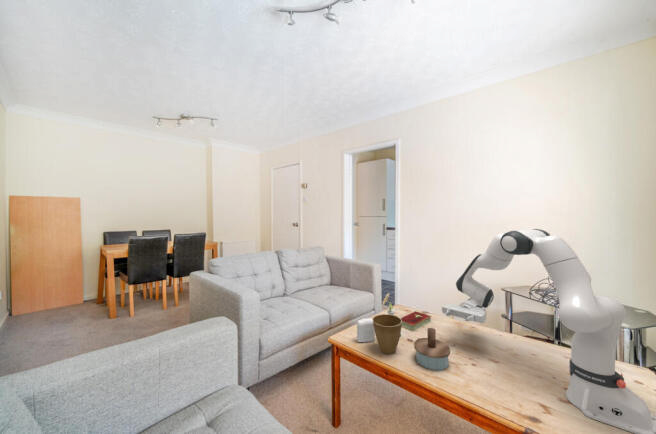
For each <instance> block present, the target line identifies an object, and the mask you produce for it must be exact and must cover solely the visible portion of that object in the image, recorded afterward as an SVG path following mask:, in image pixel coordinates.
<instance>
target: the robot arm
mask: <svg viewBox="0 0 656 434" xmlns="http://www.w3.org/2000/svg"><path fill="white" fill-rule="evenodd" d="M515 255H516V256H522V255H524V256H525V255H526V256H527V255H536V257H538V259H539V260H540V261H541V264H542V265H543V268H544V269H545V270H546V272H547V274H548V276H549V278H550V279H551V281H552V283H553V285H554V288H555V291H556V294H557V299H558V302H559V303H558V304H559V307H558V311H557V315H558V319H559V321H560V322H561V324H563V326H565V327H566V329H567V328H568V329H569V330H571V331H573V332H574V334H573V336H572V337H571V341H570V354H571V356H570V360H569V365H568V366H569V367H568V371H569V374H570V377H569V383H568V387H567V389H566V392H565V397H566V399H567V400H568V401H569V402H570V403H571V404H572V405H574V406H575V407H576V408H577V409H580V411H581V412H582V414H584V415H585V416H586V417H588V418H590V419H593V420H594V421H595V420H596V421H598V422H601V423H604V424H607V425H610V426H613V427H616V428H618V429H621V430H623V431H627V432H629V433H633V434H656V416H654V415H653V413H651V412H650V409H649V407H648V405H647V403H646V402H645V401H644V400H643V398H641V397H640V396H639V395H638V394H637V393H635V392H634V391H632V390H631V389H630V388H629V387H627V383H626V382H625V377H624V375H623V373H622V372H620V373H619V372H617V371H616V350H617V345H618V341H619V338H620V334H621V330H622V325H623V322H624V320H625V318H626V316H627V311H626V308H625V307H624V305H623V304H622V303H621V302H620V301H618V299H615V298H612V297H610V296H605V295H594V292H593V288H592V285H591V283H592V277H591V275H590V274H589V272H588V271H587V269H586V267H585V266H584V264H583V263H582V261H581V260H580V258H579V257H578V255H577V253H576V252H575V251H574V250H573V248H572V247H571V245H569V244H568V243H567V242H566V241H565V240H564V238H563V237H561V236H559V235H551V234H550V232H548V231H546V230H543V229H538V228H533V229H528V228H527V229H525V228H524V229H523V228H522V229H517V230H510V231H507V232H501V233H497V234H496V235H495V236H494V237H493V239H492V240H491V242H490V243H489V245H488V247H487V249H486V251H485V252H484V253H483V254H481V253H478V254H477V255H476V256H475V257H474V258H473V259H472V261H470V263H469V264H468V266H467V268H465V270H464V272H463V273H462V274H461V275H460V276H459V278H457V280H456V282H455V286H456V289H457V291H459V292H460V293H462V294H464V295H465V296H468V297H469V298H468V299H466V300H464V301H462V302H460V303H459V304H458V305H457V304H451V303H448V304H444V305H442V306H441V311H442V312H441V313H442V314H444V315H445V316H446V317H450V316H453V317H457V318H461V319H464V321H465V322H476V323H480V324H484V323H485V322H486V320H487V311H486V310H487V308H488V307H489V306H490V305H491V304H492V302H493V301H494V299H495V296H494V295H495V294H494V292H493V290H492V288H491V287H488V286H486V285H485V284H482V283H481V282H479V281H478V280H476V279H474V277H473V275H475V272H476V271H477V270H479V269H486V270H491V271H504V269H507V268H508V267H509V265H510V264H511V262H512V260H513V259H514V256H515Z"/></svg>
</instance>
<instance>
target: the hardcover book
mask: <svg viewBox="0 0 656 434" xmlns="http://www.w3.org/2000/svg"><path fill="white" fill-rule="evenodd" d="M399 318H400V319H401V320H402V325H401V328H405V329H406V330H409V331H412V332H416V331H417V330H418V329H420V328H422V327H424V326H425V325H427V324H429V323H431V318H432V315H429V314H426V313H422V312H419V311H417V310H416V311H415V310H414V311H413V312H411V313H408V314H407V315H403V317H399ZM423 325H424V326H423ZM416 329H417V330H416Z"/></svg>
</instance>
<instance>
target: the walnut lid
mask: <svg viewBox="0 0 656 434" xmlns="http://www.w3.org/2000/svg"><path fill="white" fill-rule="evenodd" d="M426 330H427V337H421V338H418V339H416V340H415V341H414V343H413V347H414V350H415V352H416V351H417V352H419V353H420V354H422V355H424V356H427V357H431V358H445V357H447V356H448V357H449V356H450V355H451V347H450V346H449V345H448V344H447V343H446V342H444V341H442V340H440V339H436V337H437V336H436V335H437V333H436V329H435V328H433V327H428V328H427V329H426Z"/></svg>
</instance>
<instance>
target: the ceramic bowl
mask: <svg viewBox="0 0 656 434" xmlns="http://www.w3.org/2000/svg"><path fill="white" fill-rule="evenodd" d="M415 353H416V356H415V357H416V359H415V360H416V362H417V363H418V364H419V365H420V366H422V367H424V368H425V369H427V370H432V371H443V370H446V369H447V368H448V367H449V356H447V357H445V358H431V357H427V356H424V355H422V354H420V353H419V352H417V351H416V350H415Z"/></svg>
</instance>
